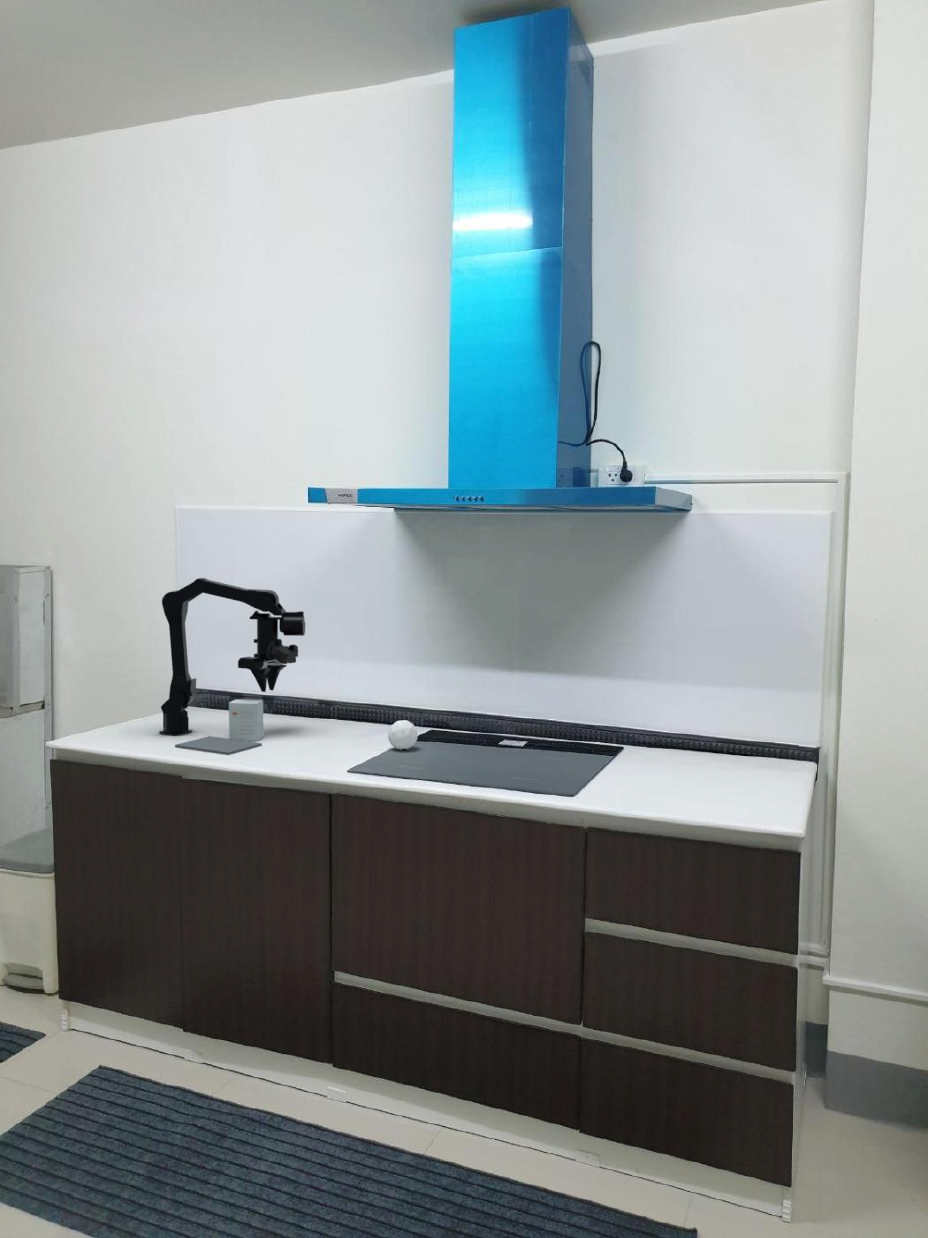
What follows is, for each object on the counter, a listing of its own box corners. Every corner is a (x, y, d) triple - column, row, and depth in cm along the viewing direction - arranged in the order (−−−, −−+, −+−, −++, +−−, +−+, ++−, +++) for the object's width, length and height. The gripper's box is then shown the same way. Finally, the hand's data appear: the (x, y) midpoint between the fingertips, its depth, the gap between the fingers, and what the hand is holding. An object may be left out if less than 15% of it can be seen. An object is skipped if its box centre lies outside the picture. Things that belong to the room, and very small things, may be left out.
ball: (410, 758, 252) (428, 735, 251) (391, 753, 246) (410, 729, 245) (395, 740, 257) (413, 717, 256) (376, 734, 250) (395, 711, 249)
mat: (174, 747, 250) (174, 744, 250) (209, 738, 261) (209, 736, 261) (228, 754, 242) (228, 752, 241) (261, 745, 253) (261, 743, 253)
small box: (264, 737, 264) (263, 699, 263) (257, 741, 258) (257, 703, 257) (235, 736, 264) (235, 698, 263) (228, 740, 259) (228, 702, 258)
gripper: (268, 640, 255) (268, 698, 256) (311, 634, 271) (311, 689, 273) (236, 637, 260) (236, 694, 261) (279, 632, 277) (279, 685, 278)
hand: (267, 691), depth 268 cm, fingers open, 3 cm apart
